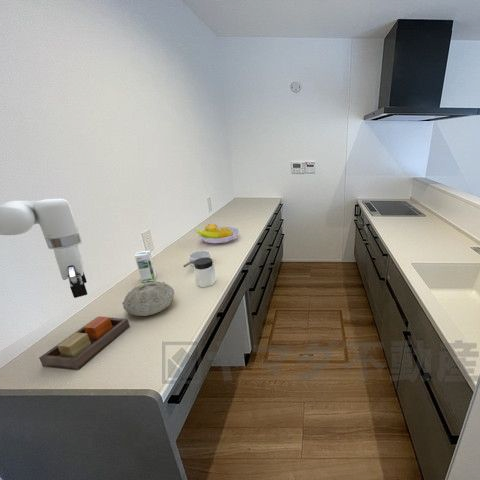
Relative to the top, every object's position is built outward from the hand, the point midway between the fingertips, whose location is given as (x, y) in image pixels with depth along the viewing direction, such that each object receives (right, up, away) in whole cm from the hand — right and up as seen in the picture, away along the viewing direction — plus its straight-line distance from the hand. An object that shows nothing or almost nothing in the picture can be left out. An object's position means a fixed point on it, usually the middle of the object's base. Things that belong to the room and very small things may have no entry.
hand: (80, 289), depth 85 cm
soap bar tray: (0, -20, +4) cm, 20 cm away
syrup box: (-8, -4, +46) cm, 47 cm away
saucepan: (+10, +1, +60) cm, 60 cm away
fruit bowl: (+7, +16, +98) cm, 100 cm away
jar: (+22, -5, +43) cm, 49 cm away
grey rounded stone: (+8, -12, +24) cm, 28 cm away
